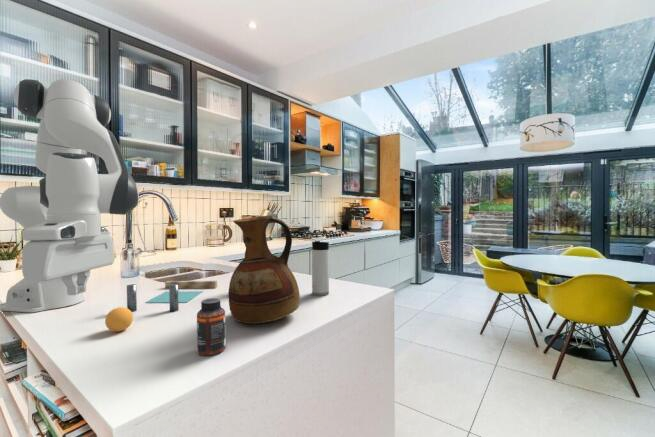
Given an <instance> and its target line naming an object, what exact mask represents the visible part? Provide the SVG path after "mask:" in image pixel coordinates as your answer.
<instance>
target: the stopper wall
mask: <svg viewBox="0 0 655 437" xmlns="http://www.w3.org/2000/svg"><path fill="white" fill-rule="evenodd" d="M171 284H178V289H217V288H218V280H167V281H165V282H164V289H169V285H171Z"/></svg>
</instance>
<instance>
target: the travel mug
mask: <svg viewBox="0 0 655 437" xmlns="http://www.w3.org/2000/svg"><path fill="white" fill-rule="evenodd" d="M329 246H330V244H329V242H328V241H320V240H314V241H311V294H312V295H313V296H317V297H325V296H327V295H329V294H330V249H329Z"/></svg>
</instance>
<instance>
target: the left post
mask: <svg viewBox="0 0 655 437" xmlns="http://www.w3.org/2000/svg"><path fill="white" fill-rule="evenodd" d="M137 299H138V298H137V284H134V283H133V284H127V285H126V308H127V309H129V310H130V311H131V312H132V313H133V312H136V311H137V310H138V309H137V308H138V306H137Z"/></svg>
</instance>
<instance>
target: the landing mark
mask: <svg viewBox="0 0 655 437" xmlns="http://www.w3.org/2000/svg"><path fill="white" fill-rule="evenodd" d="M202 293H203V291H201V290H200V291H198V290H195V291H193V290H192V291H185V290H183V291H179V290H178V303H179V304H182V303H183V304H187V303H189V302H190V301H192V300H193V299H195V298H196V297H198V296H199V295H200V294H202ZM194 297H195V298H194ZM144 303H145V304H170V300H169V291H164V292H162V293H161V294H158V295H157V296H155V297H153V298H151V299H149V300H146V301H145V302H144Z"/></svg>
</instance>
